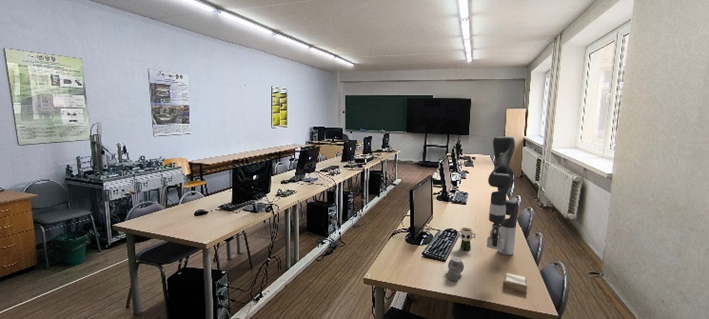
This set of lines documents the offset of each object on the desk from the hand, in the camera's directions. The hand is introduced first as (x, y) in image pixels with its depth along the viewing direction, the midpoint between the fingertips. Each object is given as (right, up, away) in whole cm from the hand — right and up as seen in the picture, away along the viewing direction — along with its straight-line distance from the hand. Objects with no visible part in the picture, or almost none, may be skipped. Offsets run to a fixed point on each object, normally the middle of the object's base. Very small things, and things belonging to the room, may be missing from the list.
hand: (494, 244), depth 168 cm
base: (+8, -20, -4) cm, 22 cm away
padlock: (0, -2, 0) cm, 2 cm away
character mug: (-1, -14, +41) cm, 43 cm away
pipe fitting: (-19, -19, +5) cm, 27 cm away
